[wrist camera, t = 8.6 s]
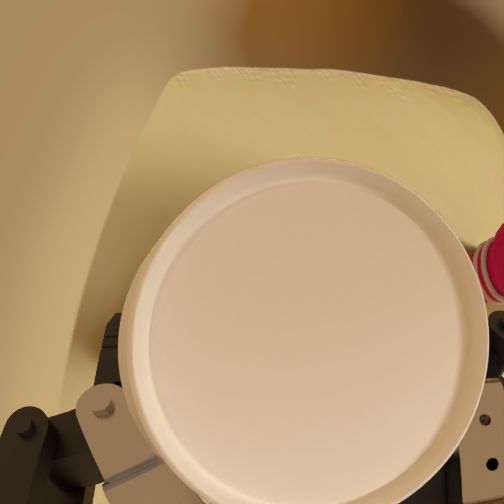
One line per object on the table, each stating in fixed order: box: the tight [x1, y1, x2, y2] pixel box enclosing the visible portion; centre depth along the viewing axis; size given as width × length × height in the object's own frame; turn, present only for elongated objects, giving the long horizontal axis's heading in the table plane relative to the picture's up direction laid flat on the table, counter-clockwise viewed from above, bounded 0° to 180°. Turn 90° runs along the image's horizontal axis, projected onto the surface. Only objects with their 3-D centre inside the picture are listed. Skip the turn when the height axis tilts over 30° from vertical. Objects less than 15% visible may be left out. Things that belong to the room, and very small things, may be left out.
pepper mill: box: [469, 223, 504, 305], centre depth 21 cm, size 7×7×20 cm
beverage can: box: [118, 157, 489, 504], centre depth 9 cm, size 6×6×12 cm
